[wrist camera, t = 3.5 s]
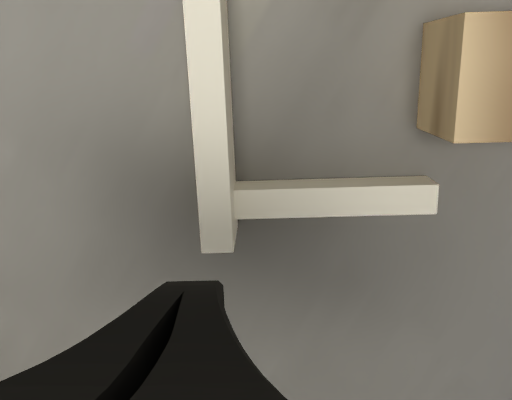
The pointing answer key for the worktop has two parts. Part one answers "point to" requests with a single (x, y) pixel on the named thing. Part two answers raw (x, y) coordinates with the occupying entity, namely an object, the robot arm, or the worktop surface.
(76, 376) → the robot arm
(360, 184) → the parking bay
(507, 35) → the oak block
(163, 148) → the worktop surface
